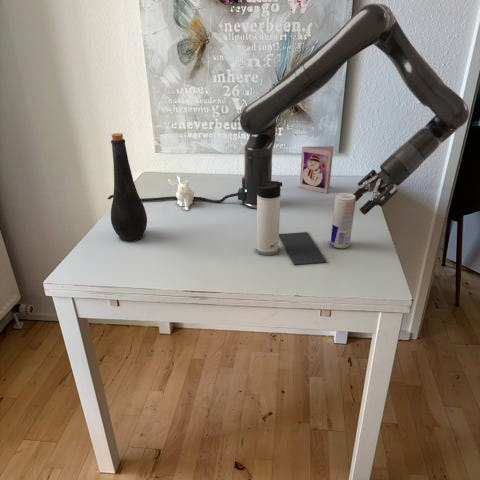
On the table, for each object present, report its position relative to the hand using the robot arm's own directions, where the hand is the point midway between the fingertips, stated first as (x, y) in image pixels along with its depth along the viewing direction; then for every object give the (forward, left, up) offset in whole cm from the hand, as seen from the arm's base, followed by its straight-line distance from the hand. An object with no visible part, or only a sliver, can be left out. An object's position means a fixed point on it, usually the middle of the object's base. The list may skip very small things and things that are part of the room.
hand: (356, 206), depth 137 cm
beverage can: (-3, -2, -12) cm, 12 cm away
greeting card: (-29, +40, -12) cm, 51 cm away
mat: (-12, -10, -12) cm, 19 cm away
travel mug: (-19, -16, -12) cm, 28 cm away
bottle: (-60, -29, -12) cm, 67 cm away
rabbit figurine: (-63, +1, -12) cm, 64 cm away
